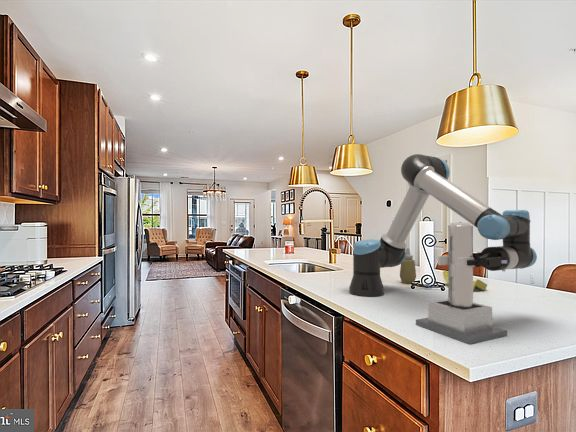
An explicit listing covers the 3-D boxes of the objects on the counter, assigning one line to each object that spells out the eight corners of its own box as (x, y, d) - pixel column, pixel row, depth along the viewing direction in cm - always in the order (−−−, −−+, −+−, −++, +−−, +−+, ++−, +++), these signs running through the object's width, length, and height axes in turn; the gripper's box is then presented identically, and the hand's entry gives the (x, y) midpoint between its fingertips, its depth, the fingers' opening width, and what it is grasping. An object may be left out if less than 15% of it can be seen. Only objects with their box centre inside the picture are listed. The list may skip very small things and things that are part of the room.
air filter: (476, 310, 94) (476, 222, 94) (451, 308, 95) (451, 222, 96) (468, 304, 100) (468, 222, 101) (445, 303, 102) (445, 222, 102)
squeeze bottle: (416, 282, 173) (416, 248, 173) (415, 285, 166) (415, 249, 166) (400, 281, 176) (400, 247, 177) (398, 283, 169) (399, 248, 169)
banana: (489, 286, 154) (476, 277, 151) (483, 300, 153) (470, 292, 150) (454, 275, 173) (441, 268, 169) (448, 288, 172) (436, 281, 168)
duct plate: (415, 324, 103) (415, 300, 103) (451, 318, 110) (451, 295, 110) (469, 344, 86) (469, 315, 86) (507, 335, 93) (507, 309, 93)
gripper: (529, 274, 97) (478, 280, 87) (471, 266, 114) (422, 270, 104) (529, 248, 98) (478, 251, 87) (471, 244, 114) (422, 246, 104)
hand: (448, 261), depth 96 cm, fingers closed on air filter, 5 cm apart
